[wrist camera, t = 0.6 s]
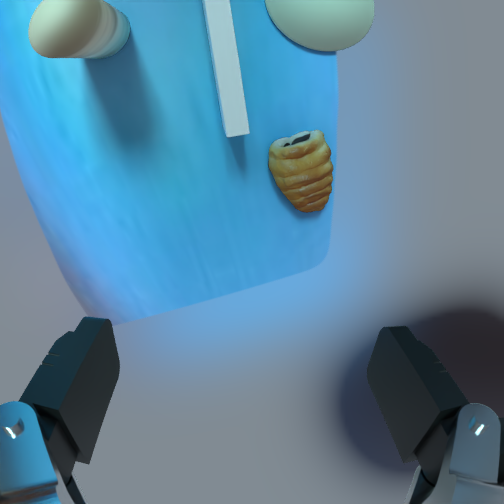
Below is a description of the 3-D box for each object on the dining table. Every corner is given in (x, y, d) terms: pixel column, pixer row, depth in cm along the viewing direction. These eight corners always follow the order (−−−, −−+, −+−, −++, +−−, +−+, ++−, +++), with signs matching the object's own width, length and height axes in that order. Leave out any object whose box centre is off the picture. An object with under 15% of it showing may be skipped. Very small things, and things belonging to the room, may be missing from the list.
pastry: (336, 196, 38) (349, 210, 34) (284, 215, 38) (292, 231, 35) (317, 123, 32) (330, 131, 29) (259, 143, 33) (266, 152, 30)
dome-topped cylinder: (69, 46, 23) (16, 43, 14) (98, 1, 21) (56, -22, 12) (110, 67, 25) (69, 69, 16) (141, 21, 23) (113, 1, 14)
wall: (188, -89, 16) (187, -109, 12) (207, -91, 17) (210, -112, 12) (223, 127, 31) (227, 137, 27) (242, 124, 31) (249, 133, 27)
